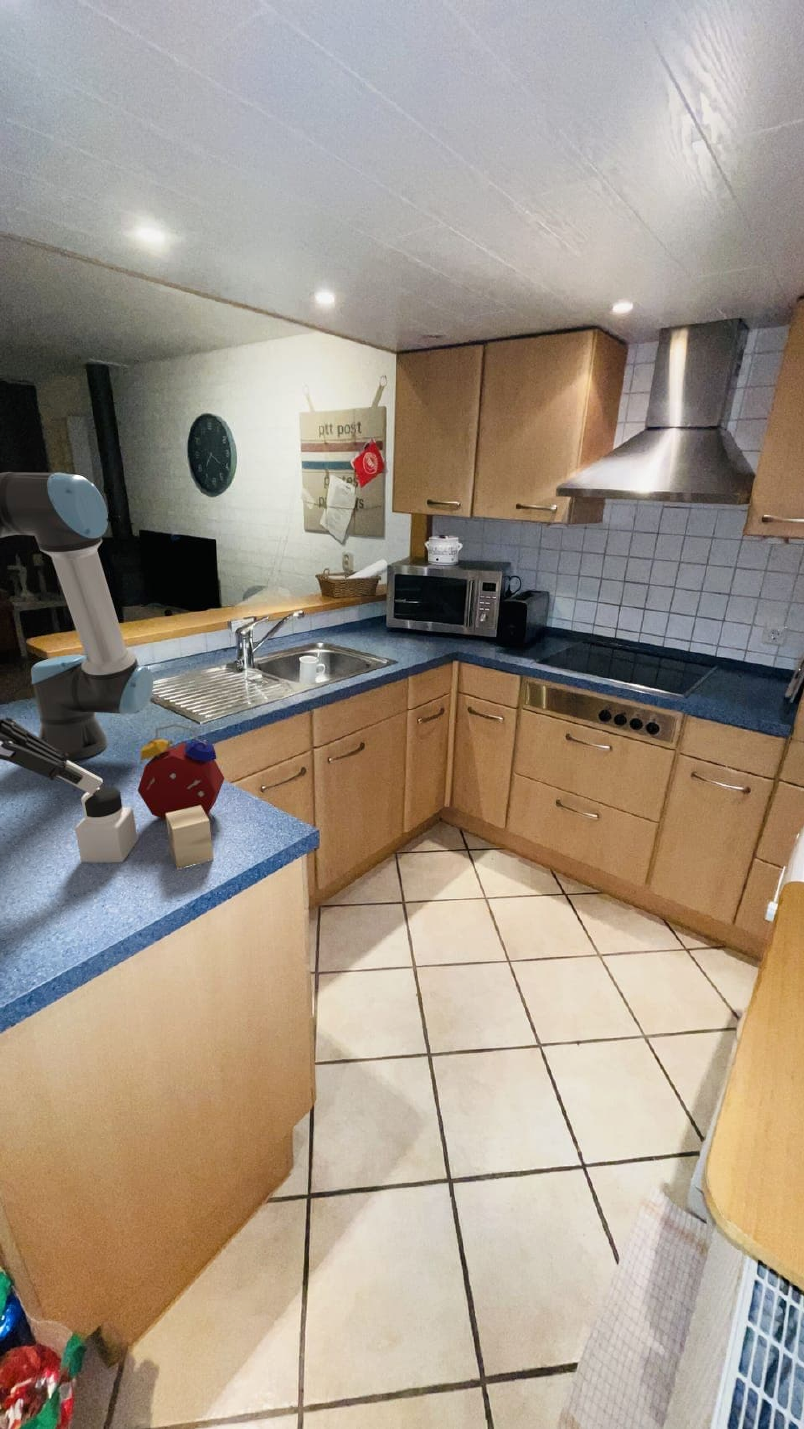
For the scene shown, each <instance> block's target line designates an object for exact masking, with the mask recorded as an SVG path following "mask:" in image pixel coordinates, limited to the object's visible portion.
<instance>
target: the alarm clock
mask: <svg viewBox="0 0 804 1429" xmlns="http://www.w3.org/2000/svg"><path fill="white" fill-rule="evenodd" d="M174 727H177V728H181V729H185V730H188V731H191V732H194V738H195V740H192V741H191V742H189V743H187V744H186V743H180V744H177V745H175V744H174V742H175V739H173V738H171V739H170V740H169V741H168V740H166V739H164V738H161V739H159V733H158V732H159V731H162V730H165V729H169V728H174ZM154 730H155V731H154V732H155V738H153V739H151V738H148V739H147V741H148V742H147V744H146V745H145V746H143V747H142V748H141V750H140V753H141V754H140V761H143V760H149V759H150V760H149V761H148V762H147V763H146V764H145V766H144V769H143V772H142V774H141V779H140V781H139V785H138V787H137V792H138V793H139V795H140V797H141V799H142V800H143V802H144V804H145V806H146V807H147V808H148V810H149V812H150V813H151V815H152V816H155V817H157V818H159V819H163V820H165V821H167V820H166V813H170V812H174V811H178V810H182V809H187V808H191V807H195V806H200V805H201V807H202V808H203V810H204V812H205V814H206V816H207V817H208V819H212V818H213V815H212V813H211V810H212V808H213V806H214V805H215V804H216V802H217V800H218V797H219V794H220V792H221V789H222V786H223V783H224V781H225V777H224V775H223V773H222V771H221V769H220V767H219V766H218V764H217V761H216V760H217V753H216V750H215V746H214V745H213V744H211V743H210V742H208V741H207V740H205V739H204V740H200V739H199V738H198V733H197V729H195V728H190V727H188V726H183V725H180V724H177V723H174V724H170V725H166V726H162V727H158V728H155V729H154ZM172 745H173V747H171V746H172Z"/></svg>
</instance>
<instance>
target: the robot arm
mask: <svg viewBox="0 0 804 1429" xmlns="http://www.w3.org/2000/svg"><path fill="white" fill-rule="evenodd" d="M108 514H109V513H108V508H107V505H106V503H105V500H104V497H103V496H102V493H100V491H99V490H98V488H97V487H96V486H95V484H94V483H92V482H91V481H90V480H88V479H87V478H86V477H84V476H82V475H79V474H70V473H65V472H17V471H16V472H15V471H8V472H0V539H1V538H5V537H9V536H15V535H18V536H20V535H21V536H22V535H23V536H34V537H35V539H36V543H37V546H38V548H39V550H40V551H41V552H43V553H44V554H46V555H48V556H49V557H51V560H52V564H53V566H54V569H55V571H56V575H57V577H58V581H59V583H60V586H61V590H62V593H63V595H64V597H65V598H64V599H65V600H66V604H67V607H68V610H69V612H70V615H71V619H72V621H73V623H74V627H75V631H76V633H77V636H78V639H79V641H80V644H81V647H82V650H83V652H84V655H85V656H84V655H82V654H69V655H68V654H67V655H59V656H56V657H51V658H48V659H45V660H42V661H39V662H37V663H35V664H34V665H33V666H32V667H31V669H30V676H31V685H32V688H33V693H34V697H35V702H36V706H37V711H38V717H39V722H40V727H39V732H38V733H39V734H38V736H36V735H35V734H34V733H32V732H30V731H28V730H27V729H25V728H24V727H22V726H21V725H19V723H17V722H16V721H14V719H12V718H10V717H5V718H0V760H3V761H6V762H9V763H12V764H15V765H16V766H19V767H22V768H24V769H26V770H28V771H31V772H34V773H36V774H38V775H41V776H43V777H44V778H48V779H49V780H50V781H52V782H53V781H55V779H56V778H59V779H61V780H63V781H65V782H67V783H68V784H70V785H73V786H75V787H76V788H78V789H80V790H82V791H84V792H85V793H87V792H88V793H90V794H92V795H93V793H94V792H95V791H96V790H97V789H98V788H99V787H101V785H102V784H103V782H104V781H103V778H101V777H100V776H98V775H96V774H94V773H92V772H91V771H88V770H87V769H85V768H83V767H81V766H79V765H77V764H76V763H74V762H72V761H76V760H77V761H78V760H81V759H82V760H83V759H87V758H89V757H92V756H95V755H97V754H99V753H102V752H103V751H104V750H105V749H107V747H108V744H109V743H108V738H107V735H106V733H105V731H104V729H103V727H102V726H101V724H100V723H99V721H98V719H97V716H96V713H100V714H120V715H122V716H125V715H136V714H140V713H141V712H143V711H144V710H146V708H147V707H148V705H149V703H150V701H151V698H152V694H153V691H154V675H153V673H152V670H151V669H150V668H149V667H148V666H146V665H144V664H141V665H140V664H139V663H138V658H137V655H136V654H135V652H133V651H132V650H130V649H127V647H126V643H125V640H124V636H123V634H122V629H121V627H120V623H119V620H118V616H117V613H116V610H115V607H114V603H113V599H112V597H111V593H110V589H109V586H108V583H107V579H106V576H105V573H104V569H103V565H102V562H101V558H100V556H99V555H100V554H99V552H98V548H99V547H100V545H102V543H103V539H102V538H103V537H102V536H104V534H105V533H106V532H107V531H106V530H107V529H108V524H109V522H108V521H107V519H108V518H109V516H108Z"/></svg>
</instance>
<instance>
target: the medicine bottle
mask: <svg viewBox="0 0 804 1429" xmlns="http://www.w3.org/2000/svg"><path fill="white" fill-rule="evenodd" d="M80 800H81V804H82V806H81V807H82V810H83V815H84V817H83V818H82V820H80V821H79V823H78V824H77V825H76V826H75V827H74V831H75V836H76V842H77V845H78V852H79V856H80V861H81V863H90V864H91V863H93V864H94V863H98V864H99V863H123V862H124V861H125V859H126V858H127V856H128V855H129V854H130V852H131V851H132V849H133V847H134V846H135V845H136V843H138V833H137V826H136V820H135V814H134V809H133V807H123V802H122V794H121V791H120V790H119V789H118V788H116V787H113V786H99V788H98V789H97V790H96V791H95V792H94V793H93V795H92V794H90V793H88V792H85V793H84V794H83V795H82V796H81V799H80Z"/></svg>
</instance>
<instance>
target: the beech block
mask: <svg viewBox="0 0 804 1429" xmlns="http://www.w3.org/2000/svg"><path fill="white" fill-rule="evenodd" d="M165 821H166V828H167V834H168V842H169V850H170V854H171V855H172V856H173V857H172V859H173V861H174V863H175V866H176V868H178V869H179V870H181V869H180V868H182V869H185V868H184V867H186V866H190V865H193V864H197V865H199V864H198V863H200V864H203V863H202V862H204V863H206V862H205V861H207V862H209V861H208V860H211V859H213V860H214V854H213V843H212V835H211V834H212V833H211V824H210V823H211V822H210V818H208V817H207V816H206V814H205V812H204V810H203V808H202V807H201V805H200V806H195V807H191V808H187V809H182V810H178V811H174V812H170V813H166V820H165ZM211 861H212V860H211ZM193 866H194V865H193ZM190 867H191V866H190ZM186 868H187V867H186ZM178 869H177V870H178Z"/></svg>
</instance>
